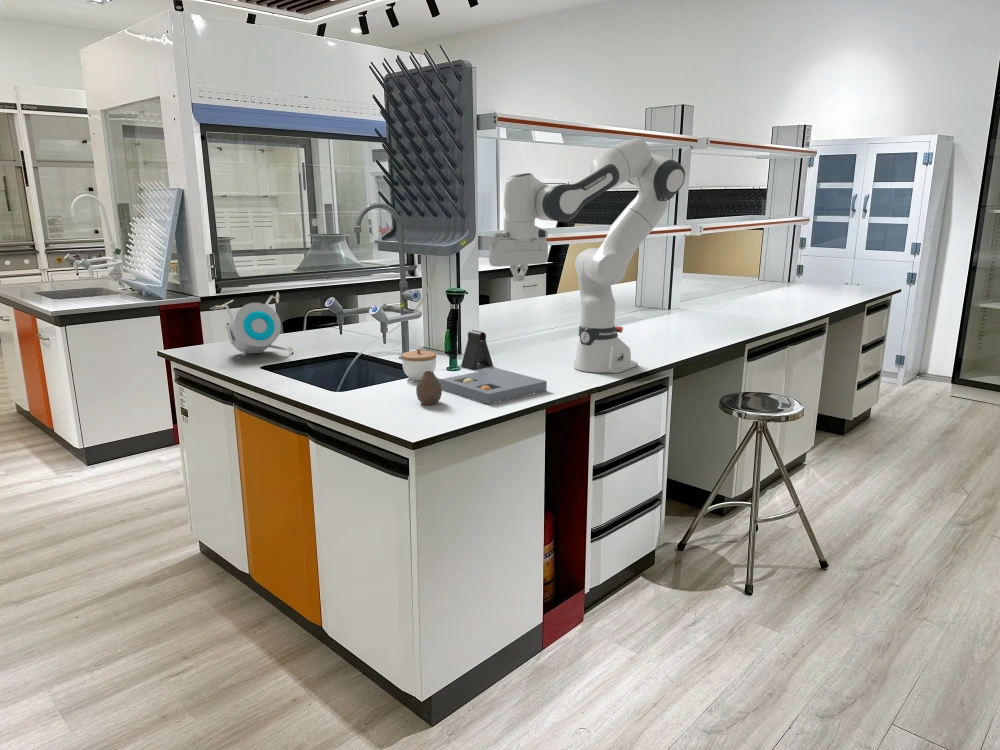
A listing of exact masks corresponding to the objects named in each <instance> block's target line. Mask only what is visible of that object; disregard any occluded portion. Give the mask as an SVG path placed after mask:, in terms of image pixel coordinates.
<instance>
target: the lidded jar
mask: <svg viewBox="0 0 1000 750" xmlns="http://www.w3.org/2000/svg"><path fill="white" fill-rule="evenodd" d="M400 355H401V364H402V370H403V372H404V375H406V376H407V377H408V378H409V380H410V379H412V380H411V381H414V380H420V379H421V377H422V376H423V374H424V372H425V371H433V373H434V374H435V370H436V366H437V353H436V352H434V351H430V350H429V351H428V350H421V348H417V349H416V350H412V351H411V350H410V351H407V352H403V353H401V354H400Z"/></svg>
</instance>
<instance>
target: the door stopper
mask: <svg viewBox="0 0 1000 750" xmlns="http://www.w3.org/2000/svg"><path fill="white" fill-rule="evenodd" d="M461 361H462V362H461V363H460V367H461V368H464V369H467V368H468V370H471V371H475V369H476V370H480V369H487V368H491V366H492V367H493V366H494V364H493V360H492V357H491V353H490V350H489V347H488V344H487V334H486V333H485V332H484V331H483V332H482V331H478V330H474V329H472V330H470V329H469V331H468V332H467V342H466V345H465V351H464V353H463V356H462V360H461Z"/></svg>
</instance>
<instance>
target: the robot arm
mask: <svg viewBox="0 0 1000 750" xmlns="http://www.w3.org/2000/svg"><path fill="white" fill-rule="evenodd" d="M685 177H686V171H685V168H684V167H683V166H682V164H681V163H679V162H678V161H676V160H674V159H670V158H668V157H666V156H664V155H661V154H656V153H652V151H651V148H650V146H649V144H648V143H647V142H646V141H645V140H644V139H640V138H632V139H628V140H625V141H622V142H619V143H617V144H615V145H613V146H611V147H609V148H607V149H605V150H603V151H602V152H600V153H599V154H598V155H597V156H595V157H594V158H593V159H592V160H591V164H590V174H588V175H587V176H585V177H583V178H582V179H580V180H578V181H577V182H575V183H572V184H571V183H570V184H568V183H567V184H565V183H564V184H557V185H549V184H547V183H544V182H542V181H540V180H539V179H538V178H537V177H535V176H534V174H533V173H530V172H527V173H526V172H525V173H519V174H514V175H510V176H509V177H508V178H507V179H506V181H505V186H504V194H503V195H504V196H503V208H504V219H503V232H497V233H495V234H494V235H492V237H491V238H490V246H489V254H488V255H489V259H488V261H489V265H490V266H491V267H496V268H497V267H499V268H500V267H509V270H510V272H511V274H512V278H513V281H514V282H523V281H525V280H526V278H525V277H526V274H527V271H528V269H529V265H540V264H542V265H543V264H546V263H547V261H548V259H549V244H548V240H547V238H548V237H549V236H548V235H549V233H548V230H546V229H544V228H541V227H540V226H537V225H536V219H538V220H540V221H548V222H549V221H551V222H552V221H553V222H558V223H567V222H571V220H574V218H575V217H577V215H578V214H579V213H580V211H581V210H582V209H583V207H584V206H585V205H587V204H588V203H590V202H591V201H592V200H594V199H595V198H597V197H599V196H600V195H603V194H604V193H605V192H606V191H609V190H612V189H614V188H617V187H618V186H620V185H623V184H625V183H626V182H628V183H629V184H631V185H634V186H636V187H638V188H639V189H638V192H637V195H636V197H634V199H632V200H631V201H630V203H629V204H628V205H626V207H625V208H624V210H623V211H622V212H621V213H620V214H619V215H618V216H617V218H616V219H615V220H614V221H613V222H612V224H611V225H610V227H609V228H608V232H607V234H606V237H605V238H604V240H603V241H602V243H601V245H600V246H599V247H598V248H596V247H590V248H587V249H584V250H583V251H581V252H579V253H578V255H577V256H576V258H575V260H574V268H575V271H576V275H577V281H578V290H579V297H580V325H579V326H578V337H579V340H578V342H577V349H576V354H575V356H576V357H575V360H574V362H573V365H574V369H576V370H578V371H581V372H586V373H596V374H597V373H598V374H600V373H603V374H605V373H607V374H608V373H609V374H610V373H612V374H619V373H622V372H624V371H627V370H630V369H633V368H635V367H637V366H639V363H638V362H637V361H635V360H632V359H631V358H632V357H631V356H632V355H631V354H632V353H631V348H630V347H629V346H628V345H627V344H626V343H625V342H624V341H622V340H621V338H619V335H618V333H623V331H624V327H623V326H619V325H617V326H616V322H615V319H616V301H615V298H614V295H613V289H612V286H613V285H615V284H618V283H619V282H621V281H622V280H623V278H624V277H625V275H626V272H627V267H628V265H629V263H630V262H631V259H632V258H633V256H634V254H635V253H636V251H637V250H638V248H639V247H640V245H641V244H642V243H643V242H644V241H645V239H646V238H647V237H648V236H649V235H650V233H651V232H652V231H653V229H654V228H655V227H656V226H657V224H658V223H659V222H660V221H661V219H662V217H663V215H664V213H665V212H666V211H667V209H668V206H669V202H668V201H670V200H671V199H672V198H674V196H675V195H676V194H678V193H679V191H680V190H681V188H682V187H683V185H684V183H685V180H686V178H685ZM519 269H520V271H518V270H519Z"/></svg>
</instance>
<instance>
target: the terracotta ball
mask: <svg viewBox="0 0 1000 750" xmlns="http://www.w3.org/2000/svg"><path fill="white" fill-rule="evenodd" d="M481 389H484V390H491V388H490V387H489V386H486V385H485V386H482V387H481Z"/></svg>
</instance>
